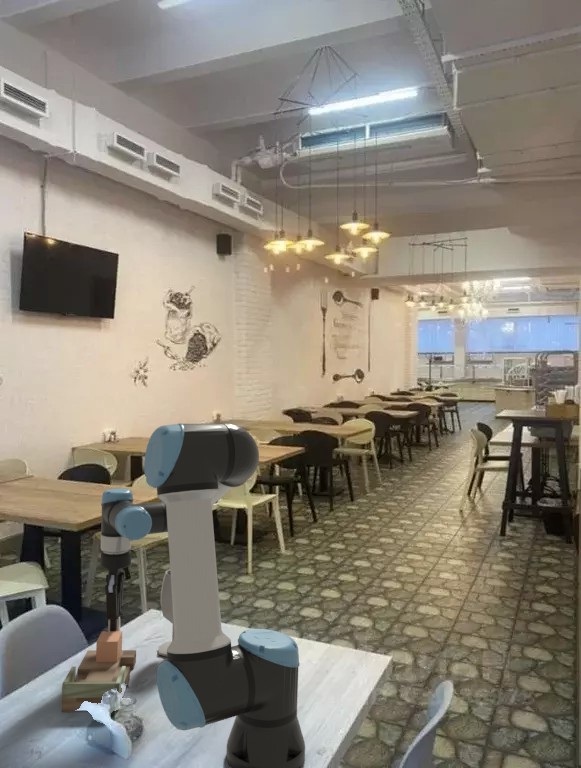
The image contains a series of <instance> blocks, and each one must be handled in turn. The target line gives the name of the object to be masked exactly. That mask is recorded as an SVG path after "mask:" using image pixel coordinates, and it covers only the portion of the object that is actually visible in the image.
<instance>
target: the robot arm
mask: <svg viewBox="0 0 581 768" xmlns="http://www.w3.org/2000/svg"><path fill="white" fill-rule="evenodd" d="M144 455H145V456H144V465H143V466H144V476H145V480H146V483H147V485H148V486H149V487H152V488H153V489H156V496H157V498H158V499H159V500H160V501H157V502H154V501H153V502H145V503H134V498H133V491H132V490H131V489H129V488H118V487H117V488H108V489H106V490H104V491H103V492H102V494H101V495H102V499H101V504H100V505H101V520H100V521H101V525H100V526H101V528H100V530H101V533H100V550H101V552H100V562H99V563H100V564H99V565H100V567H101V568H103V569H106V570H108V574H106V575H105V576H106V577H105V581H106V584H105V586H104V589H105V599H106V600H105V603H106V615H105V617H104V619H105V620H108V621H107V622H108V624H107V625H108V626H107V629H108V630H107V631H121V616H124V613H125V612H124V611H122V610H123V598H124V582H125V575H126V570H125V568H128V567H130V566H131V564H132V550H131V549H132V542H133V541H139V540H142V539H143V538H145V537H146V536H147V535H153V534H155V535H156V534H163V533H167V538H168V552H169V553H168V555H169V569H170V572H171V587H172V603H173V618H174V633H175V638H174V640H173V641H172V640H171V641H172V643H171V644H170V645H169V646H168V648H167V660H164V661H163V662H162V663H160V664H159V665H158V668H157V674H156V684H157V685H156V686H157V692H158V696H159V699H160V703H161V706H162V708H163V711H164V713H165V715H166V717H167V720H168V721H169V722H170V724H171V725H172V726H173V727H175V728H176V729H177V730H180V731H188V730H192V729H193V730H194V729H196V728H199V729H201V728H205V726H207V725H211V724H215V723H218V722H221V721H224V720H228V719H230V718H234V717H235V718H234V722H233V724H232V726H231V730H230V733H229V736H228V739H227V742H226V758H225V759H226V761H227V763H228V766H229V767H230V766H231V767H232V768H301V767H302V766H303V765H304V764H305V763H304V762H305V759H306V758H305V757H306V744H305V743H306V742H305V740H304V735H303V731H302V729H301V728H302V727H301V726H300V725H301V724H300V722H299V719H298V696H299V695H298V693H299V691H298V690H299V667H300V657H299V655H300V654H299V646H298V644H297V643H296V641H295V640H294V639H293V638H292V637H291V636H289V635H288V634H285V633H282V632H280V631H276V630H272V629H266V628H253V629H251V628H250V629H245V630H243V631H242V632H241V633H240V634H238V635H239V636H238V639H237V643H238V644H237V645H233V646H232V640H231V638H230V637H229V636H228V635H226V634H225V633H224V632H223V630H222V616H221V605H220V603H221V602H220V593H219V581H218V568H217V556H216V544H215V543H216V542H215V533H214V531H215V530H214V517H213V505H214V504H215V503H217V502H218V501H219V500H220V499H221V498H222V497H223V496H225V494H227V493H228V492H229V491H230V490H231V489H232V488H237V487H238V488H239V487H240V486H242V485H244V484H245V483H246V482H248V480H249V479H250V478H252V476H253V475H254V473H255V472H256V470H257V468H258V466H259V461H260V452H259V447H258V445H257V442H256V439H254V437H253V436H252V435H251V434H250V433H249V432H248V431H247V430H246V429H244V428H243V427H241V426H239V425H236V424H233V423H229V422H228V423H227V422H224V423H223V422H221V423H175V424H167V425H160V426H158V427H156V428H155V430H154V431H153V432H152V433H151V435H150V438H149V439H148V442H147V446H146V449H145V454H144ZM231 767H230V768H231Z"/></svg>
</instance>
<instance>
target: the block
mask: <svg viewBox="0 0 581 768" xmlns="http://www.w3.org/2000/svg"><path fill="white" fill-rule="evenodd" d="M95 644H96V645H95V646H96V649H95V650H96V662H117V661H118V659H119V657H120V654H121V652H122V650H123V631H122V630H120V631H108V630H106V631H104V630H103V631H102V630H101V632H100V634H99V635H98V638H97V640H96V643H95Z"/></svg>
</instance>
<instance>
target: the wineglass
mask: <svg viewBox="0 0 581 768" xmlns="http://www.w3.org/2000/svg"><path fill="white" fill-rule="evenodd" d="M161 584H162V585H161V591H160V607H161V612H162V616H163V617H164V619H166V621H169V622H170V623H171V624H172V631H171V633H172V634H171V637H172V638H171V639H172V640H171V641H165V642H164V643H162V644H161V645H159V646H158V648H157V649H158V655H159V656H163V657H167V648H168V646H169V645H170V644H171V643H172V641H173V640H174V638H175V633H174V618H173V603H172V587H171V572H170V568H169V569H168V570H165V572H164V576H163V578H162V583H161ZM167 658H168V657H167Z"/></svg>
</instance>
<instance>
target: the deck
mask: <svg viewBox="0 0 581 768" xmlns="http://www.w3.org/2000/svg"><path fill="white" fill-rule="evenodd" d="M136 663H137V650H136V649H122V652H121V654H120V657H119V659H118V661H117V662H96V649H95V650H91V649H90V650H87V651H86V653H85V654H84V657H82V660H81V662H80V664H79V666H78V668H76V666H71V668H70V669H69V671H68V673H67V675H66V676H65V678H64V680H63V682H62V683H61V684H62V685H61V712H62V713H71V712H72V713H73V712H74V711H75V710H77V709H79V708H80V706H81V704H82V703H83V702H84V701H88V702H91V703H97V704H98V703H101V700H102V696H103V694H104V693H105V692H107V691H109V690H111V689H113V688H117V691H118V692H119V693H121V692H122V688H121V684H122V683H125V684H127V685H129V682H130V680H131V678H130V677H131V670H134V668H135V666H136ZM76 670H77V672H76ZM76 673H77V674H76ZM76 676H77V677H76ZM74 713H75V712H74Z"/></svg>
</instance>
